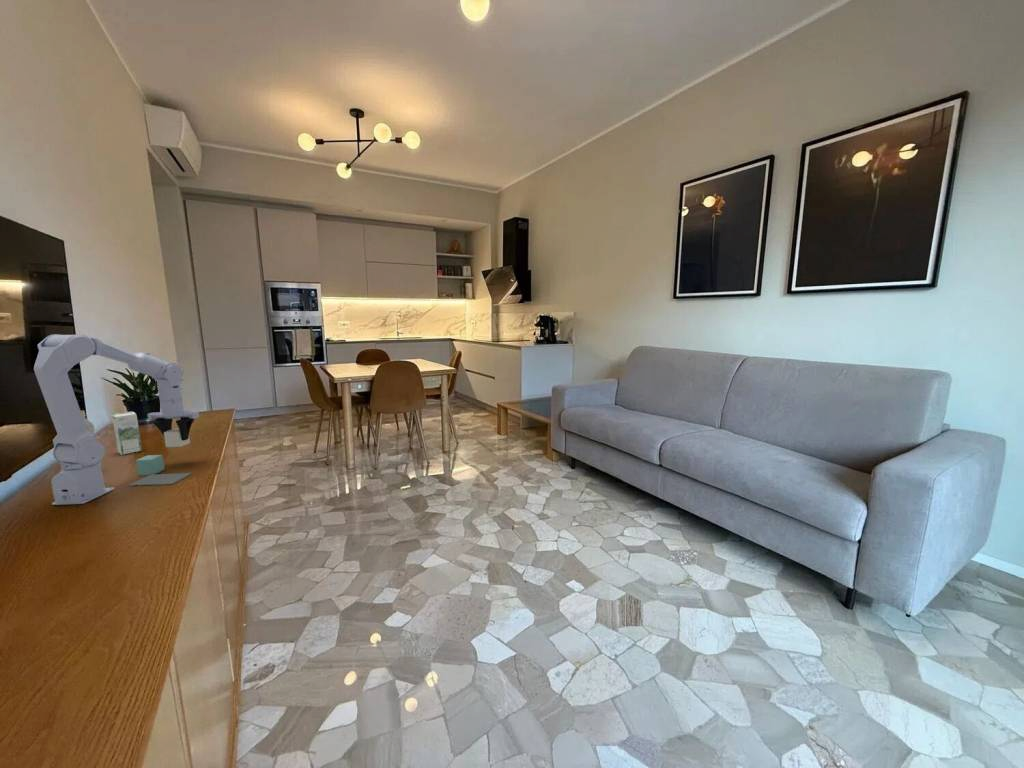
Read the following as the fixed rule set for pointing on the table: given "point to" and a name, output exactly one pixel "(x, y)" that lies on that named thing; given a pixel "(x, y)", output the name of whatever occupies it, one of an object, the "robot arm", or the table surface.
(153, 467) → the teal block
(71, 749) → the table surface
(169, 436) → the cream block
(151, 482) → the slate mat
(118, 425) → the syrup box
